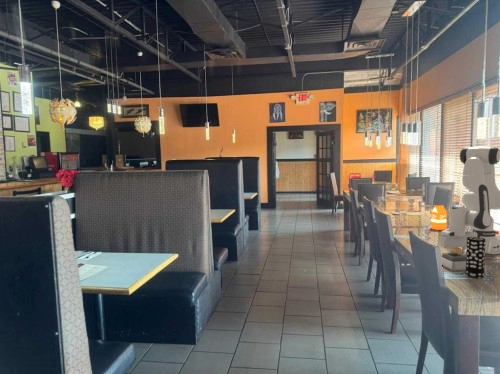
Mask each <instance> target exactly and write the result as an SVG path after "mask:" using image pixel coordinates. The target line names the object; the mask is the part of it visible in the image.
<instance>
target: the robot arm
mask: <svg viewBox="0 0 500 374" xmlns="http://www.w3.org/2000/svg"><path fill="white" fill-rule="evenodd" d="M459 153H460V154H459V160H460V162H461V163H462V164H463V171H462V180H461V181H462V182H461V183H462V185H463V187H464V188H465V189H466V190H468V191H467V192H465V193H464V194H463V195H462V198H461V202H462V204H463V205H462V204H455V205H453V206H451V207H450V210H449V217H448V219H449V226H448V228H446V229H443V230H442V231H441V233H440V234H441V235H440V238H439V239H440V240H439V246H440V248H443V249H447V251H448V253H453V252H451V248H456V247H458V248H461V249H462V251H461V254H465V251H466V247H467V237H480V238H484V239H485V254H489V255H499V254H500V238H499V237H498V236H497V235H499V234H500V231H498V230H494V223H495V221H494V218H493V217H492V216H491V213H490V210H497V211H499V210H500V189H499V188H498V186H497V183H496V166H495V165H496V164H498V163H499V162H500V149H499V148H498V147H495V146H473V147H472V146H471V147H469V146H468V147H467V146H466V147H463V148H462V149H461V150H460V152H459ZM466 226H468V227H471V228H473V229H472V232H471V231H466Z"/></svg>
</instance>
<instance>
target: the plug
mask: <svg viewBox="0 0 500 374" xmlns="http://www.w3.org/2000/svg"><path fill="white" fill-rule="evenodd" d="M450 250H451V252H453V253H459V254H461V251H462V247H456V248H451V249H450Z"/></svg>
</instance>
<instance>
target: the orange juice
mask: <svg viewBox="0 0 500 374" xmlns="http://www.w3.org/2000/svg"><path fill="white" fill-rule="evenodd" d="M430 221H431V222H430V223H431V224H430V228H431V229H433V230H437V231H439V230H442V231H443V230H446V229H447V210H446V209H445V206H444V205H443V204H442V205H434V206H433V209H432V210H431V219H430Z"/></svg>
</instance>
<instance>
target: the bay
mask: <svg viewBox="0 0 500 374" xmlns="http://www.w3.org/2000/svg"><path fill="white" fill-rule="evenodd" d="M440 256H441V259H442V264H443V266H442V267H444V268H446V269H447V270H451V271H454V272H455V271H466V253H464V254H459V253H449V252H444V253H442V252H441V255H440Z"/></svg>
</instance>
